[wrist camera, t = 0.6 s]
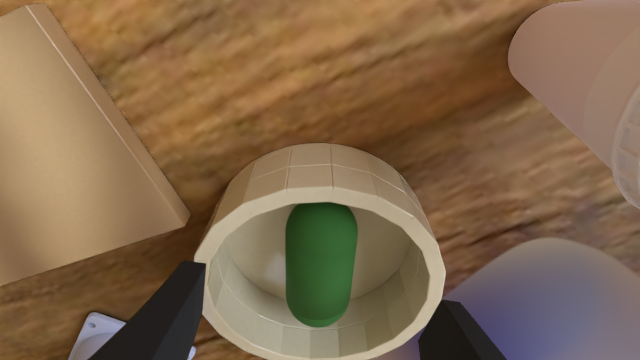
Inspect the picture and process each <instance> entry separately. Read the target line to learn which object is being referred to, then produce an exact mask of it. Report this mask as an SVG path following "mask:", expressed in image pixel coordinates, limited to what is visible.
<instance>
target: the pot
mask: <svg viewBox="0 0 640 360" xmlns="http://www.w3.org/2000/svg"><path fill="white" fill-rule="evenodd" d="M318 202H333V203H337V204H342V205H347V206H348V207H349V208H350V210H351V211H352V213H353V214H354V216H355V219H356V222H357V226H358V239H357V247H356V255H355V263H354V271H353V279H352V287H351V294H350V301H349V304H348V307H347V309H346V311H345V313H344V314H343V316H342V317H341V318H340V319H339V320H337V321H336V322H335V323H333V324H331V325H329V326H326V327H320V328H317V327H310V326H307V325H305V324H303V323H301V322H300V321H298V320H297V319H296V318H295V317H294V316H293V315H292V313H291V311H290V309H289V307H288V304H287V301H286V263H285V229H286V223H287V220H288V217H289V215H290V213H291V212H292V210H293V209H294V208H295V207H296V205H298V204H299V203H318ZM194 262H199V263H206V274H205V287H204V300H203V311H202V314H203V315H204V317H205V318H206V319H207V320H208V321H209V323H210V324H211V325H212V326H213V327H214V328H215V330H216V331H217V332H218V333H219V334H220V335H221V336H223V337H224V338H226V339H227V340H229V341H230V342H232V343H234V344H235V345H237V346H238V347H240V348H241V349H243V350H244V351H246V352H249V353H251V354H254V355H257V356H260V357H262V358H265V359H268V360H367V359H371V358H376V357H378V356H380V355H382V354H384V353H386V352H388V351H390V350H392V349H395V348H397V347H399V346H401V345H402V344H404V343H405V342H407V341H408V340H409V339H410V338H411V337H413V336H414V335H415V334H416V333H417V332H419V331H420V330H421V329H422V328H423V327H425V325H427V323H428V322H429V320H430V318H431V317H432V315H433V313H434V312H435V310H436V308H437V306H438V305H439V303H440V301H441V299H442V293H443V287H444V281H445V275H446V270H445V267H444V264H443V260H442V257H441V253H440V250H439V246H438V243H437V241H436V239H435V236H434V234H433V232H432V230H431V227H430V225H429V223H428V220H427V218H426V216H425V214H424V212H423V209H422V207H421V205H420V202H419V200H418V198H417V196H416V195H415V193H414V192H413V191H412V189H411V187H410V186H409V184H408V183H407V182H406V181H405V179H404V178H403V177H402V176H401V175H400V174H399V173H398V172H397V171H396V170H395V169H394V168H393V167H391V166H390V165H388V164H387V163H385V162H384V161H383V160H381V159H379V158H377V157H375V156H373V155H371V154H369V153H367V152H364V151H361V150H359V149H356V148H352V147H348V146H343V145H339V144H329V143H307V144H300V145H293V146H289V147H285V148H281V149H278V150H275V151H273V152H270V153H268V154H266V155H263V156H262V157H260V158H258V159H256V160H255V161H253V162H251V163H250V164H249V165H247V166H246V167H245V168H243V169H242V170H241V171H240V172H239V173H238V174H237V175H236V176H235V177H234V178H233V179H232V180H231V181H230V183H229V184H228V186H227V187H226V189H225V190H224V192H223V194H222V196H221V198H220V200H219V201H218V203H217V205H216V206H215V209H214V211H213V213H212V215H211V218H210V220H209V222H208V225H207V227H206V229H205V232H204V234H203V236H202V239H201V241H200V243H199V245H198V248H197V250H196V252H195V255H194Z"/></svg>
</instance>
